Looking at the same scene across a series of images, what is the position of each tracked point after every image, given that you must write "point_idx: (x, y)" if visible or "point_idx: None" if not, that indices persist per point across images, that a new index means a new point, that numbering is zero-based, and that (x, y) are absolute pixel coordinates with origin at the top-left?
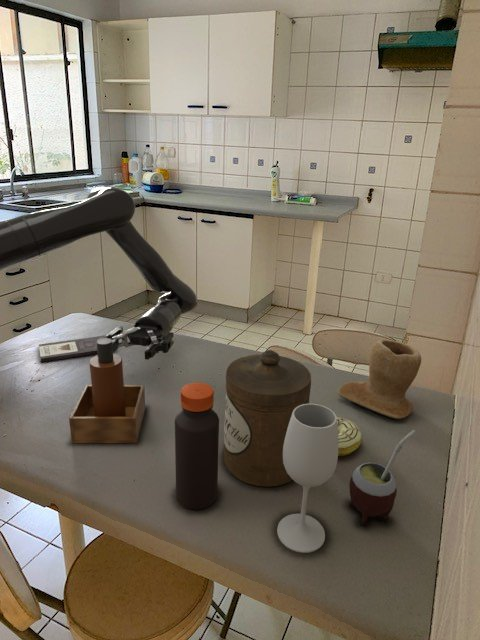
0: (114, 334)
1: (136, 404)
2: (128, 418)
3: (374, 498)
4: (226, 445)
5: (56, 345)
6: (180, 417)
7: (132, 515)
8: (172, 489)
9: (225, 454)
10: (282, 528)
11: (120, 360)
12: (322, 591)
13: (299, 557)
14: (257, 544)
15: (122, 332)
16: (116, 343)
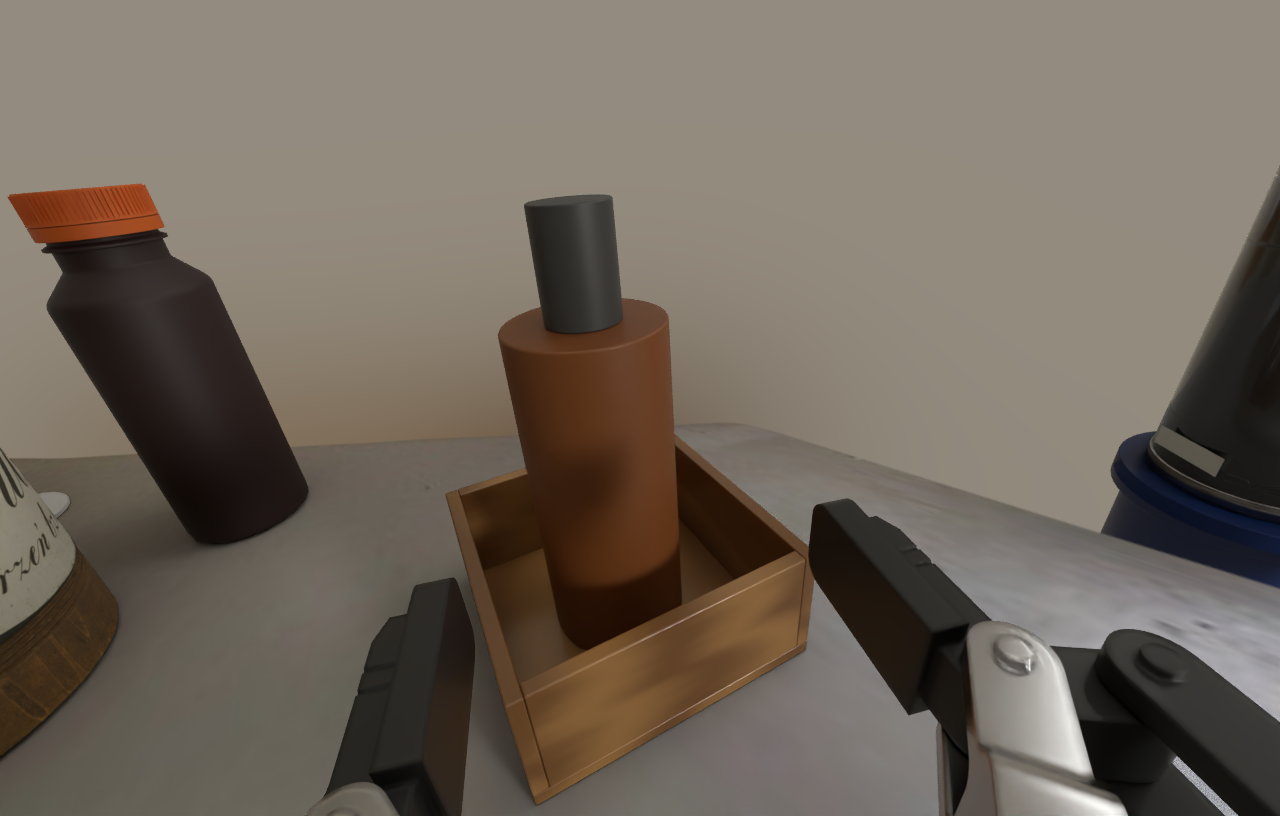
0: (1202, 765)
1: (474, 548)
2: (472, 485)
3: None
4: (68, 541)
5: None
6: (187, 264)
7: (404, 442)
8: (321, 502)
9: (94, 584)
10: None
11: (506, 337)
12: (44, 466)
13: (47, 490)
14: (133, 481)
15: (1111, 796)
16: (902, 635)
